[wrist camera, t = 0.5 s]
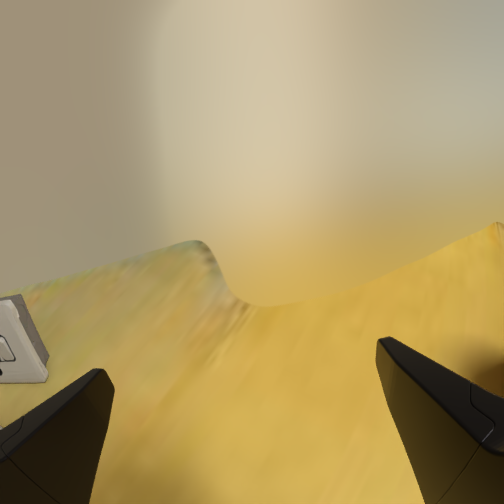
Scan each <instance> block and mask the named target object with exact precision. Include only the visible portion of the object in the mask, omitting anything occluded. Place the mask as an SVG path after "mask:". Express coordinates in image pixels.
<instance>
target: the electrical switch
mask: <svg viewBox="0 0 504 504" xmlns="http://www.w3.org/2000/svg"><path fill="white" fill-rule="evenodd" d="M33 341H34V343H33ZM48 358H49V354H48V352H47V350H46V348H45V346H44V344H43V342H42V340H41V338H40V336H39V334H38V332H37V330H36V327H35V325H34V323H33V321H32V318H31V316H30V314H29V312H28V309H27V307H26V304H25V302H24V300H23V297H22V295H21V294H18V295H13V296H8V297H3V298H0V383H42V382H45V381H46V379H47V378H48V372H47V369H46V368H45V366H46V362H47V360H48Z"/></svg>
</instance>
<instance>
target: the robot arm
mask: <svg viewBox="0 0 504 504" xmlns="http://www.w3.org/2000/svg"><path fill="white" fill-rule="evenodd" d="M376 366H377V370H378V373H379V377H380V380H381V383H382V387H383V390H384V394H385V398H386V401H387V405H388V407H389V410H390V412H391V415H392V417H393V420H394V422H395V425H396V427H397V430H398V432H399V435H400V437H401V440H402V442H403V445H404V447H405V450H406V452H407V455H408V458H409V460H410V463H411V466H412V468H413V471H414V474H415V476H416V479H417V482H418V485H419V488H420V490H421V493H422V496H423V499H424V502H425V504H504V398H502V397H500V396H498V395H495V394H493V393H491V392H489V391H487V390H485V389H484V388H482V387H480V386H478V385H476V384H474V383H473V382H471V383H470V381H469V380H467V379H465V378H463V377H462V376H460V375H458V374H456V373H455V372H453V371H451V370H449V369H447V368H446V367H444V366H442V365H440V364H439V363H437V362H435V361H433V360H431V359H430V358H428V357H426V356H424V355H423V354H421V353H419V352H417V351H415V350H414V349H412V348H410V347H408V346H407V345H405V344H403V343H401V342H399V341H398V340H396V339H394V338H392V337H390V336H389V337H384V338H380V339H378V341H377V347H376ZM114 392H115V389H114V385H113V383H112V382H111V380H110V378H109V376H108V374H107V372H106V371H105V370H104V369H100V368H95V369H92V370H90V371H89V372H87V373H86V374H85V375H83V376H82V377H80V378H79V379H77V380H76V381H74V382H73V383H71V384H70V385H68V386H67V387H65V388H64V389H62V390H61V391H59V392H58V393H56V394H55V395H53V396H52V397H50V398H49V399H47V400H46V401H44V402H43V403H41V404H40V405H38V406H37V407H35V408H34V409H32V410H31V411H29V412H28V413H26V414H25V415H24V416H22V417H20V418H19V419H17V420H16V421H14V422H13V423H11V424H10V425H8V426H6V427H5V428H3V429H1V430H0V504H89V502H90V497H91V493H92V488H93V484H94V480H95V475H96V471H97V467H98V463H99V459H100V455H101V451H102V448H103V444H104V440H105V437H106V433H107V429H108V425H109V420H110V414H111V408H112V403H113V398H114Z"/></svg>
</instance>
